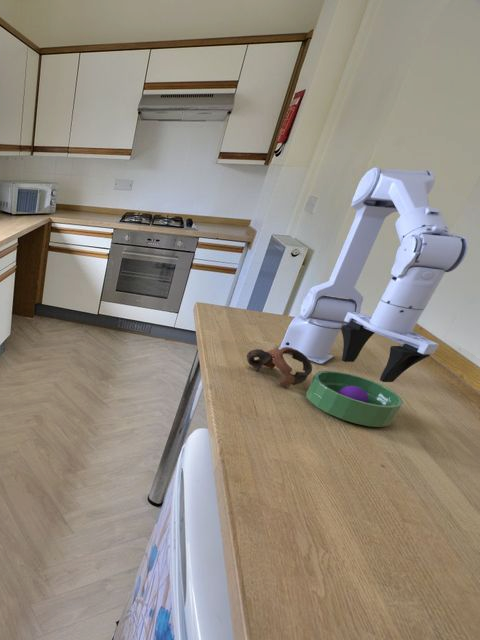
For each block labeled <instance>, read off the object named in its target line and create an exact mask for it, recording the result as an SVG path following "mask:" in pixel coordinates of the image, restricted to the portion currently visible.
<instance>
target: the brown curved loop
mask: <svg viewBox="0 0 480 640" xmlns="http://www.w3.org/2000/svg"><path fill="white" fill-rule="evenodd" d="M284 354H285V355H286V354H291V355H292V356H291V358H292V359H293V360H295V361H298V362H300V363H302V366H303V367H302V371H296V372H295V373H294V374H293V373H291V372H292V371H293V368H292V367H291V366H290V365H289V364H288V363H287V362H286V360H285V358H284ZM255 358H258V359H255ZM246 361H247V363H248V365H250V366H251V367H252V370H253V371H254V372H256V373H258V372H259V371H260V369H261V368H262V367H263V366H264V367H267V368H269V369H272V370H273V369H274V368H276V369H278V370H279V371H280V373H281V374H282V375H283V376H284V378H283V379H282V380H280V381H279V382H278V385H279V386H281V387H282V388H287V387H290V386H291V385H292V386H295V385H299V384H302V383H304V382H305V381H306V380H307V378H308V377H309V375H311V373H312V371H313V365H312V362H311V361H310V360H308V358H307V357H306V356H305V355H304V354H302V353H301V352H300V351H298V350H296V349H293V348H289V347H284V348H282V349H279V348H275V349H270V350H268V351H265V350H263V349H260V348H259V349H258V348H257V349H252V350H250V351H248V352H247V354H246Z"/></svg>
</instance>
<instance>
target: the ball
mask: <svg viewBox="0 0 480 640" xmlns="http://www.w3.org/2000/svg"><path fill="white" fill-rule="evenodd" d="M338 393H339V394H341V395H344V396H347V397H349V398H352V399H355V400H359V401H362V402H365V403H367V402H368V399H369V398H368V394H367V393H366V391H364V390H363V389H362V388H360V387H357V386H346V387H344V388H342V389H341V390H340V391H339V392H338Z"/></svg>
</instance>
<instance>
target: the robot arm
mask: <svg viewBox="0 0 480 640" xmlns="http://www.w3.org/2000/svg"><path fill="white" fill-rule="evenodd" d="M435 181H436V176H435V173H434V171H432V170H431V169H430V170H429V169H427V170H413V169H395V168H394V169H393V168H380V167H372V168H371V169H370V170H368V171H366V173H365V174H364V175H363V176H362V178H361V179H360V181H359V182H358V185H357V188H356V190H355V192H354V195H353V197H352V200H351V204H350V207H351V208H353V209H354V210H356V214H355V217H354V219H353V221H352V224H351V227H350V229H349V231H348V233H347V237H346V238H345V241H344V243H343V246H342V248H341V251H340V254H339V255H338V258H337V261H336V263H335V265H334V267H333V270H332V272H331V275H330V277H329V279H328V281H325V282H322V283H320V284H317V285H314V286H311V288H310V289H309V291H308V293H307V294H306V296H305V297H304V299H303V301H302V303H301V306H300V311H299V313H300V315H296V316H294V318H293V319H292V320H291V322H290V324H289V325H288V327H287V329H286V332H285V335H284V337H283V339H282V342H281V344H280V345H279V347H278V349H282V348H284V347H289V348H293V349H296V350H298V351H300V352H301V353H302V354H304V355H305V356H306V357H307V358H308V360H309V361H310V362H313V363H316V364H318V365H324V364H325V363H326V362H328V361H329V360H331V359H332V358H333V357H334V355H333V354H330V352H332V349H333V347H334V345H335V342H336V340H337V338H338V336H339V334H340V332H341V334H342V339H343V342H342V343H343V347H342V356H341V361H342V362H344V363H354V362H356V360H357V359H358V356H359V355H360V353H361V352H362V349H363V348H364V346H365V345H366V343H367V342H368V341H369V340H370V339H371V337H372V336H374V334H376V335H380V336H382V337H384V338H387V339H389V340H392V341H394V342H396V343H398V344H401V345H391V346H390V347H389V355H388V359H387V363H386V365H385V367H384V369H383V370H382V372H381V374H380V377H379V381H380V382H382V383H393V382H394V381H396V379H397V378H398V377H399V376H401V375H402V374H403V373H404V372H406V371H407V370H408V369H409V368H412V366H414V365H415V364H417V363H419V362H421V361H422V360H425V359H426V358H428V357H430V356H431V355H434V354H435V352H436V351H437V349H438V347H439V346H440V344H439V343H437V342H435V341H432V340H430V339H429V338H427V337H425V336H423V335H421V334H420V333H417V332H416V331H414V329H415V327H416V325H417V323H418V321H419V320H420V318H421V316H422V314H423V312H424V311H425V309H426V308H427V306H428V304H429V301H430V300H431V298H432V297H433V295H434V293H435V292H436V290H437V288H438V287H439V285H440V283H441V281H442V279H443V277H444V276H445V274H446V273H450V272H452V271H454V270H456V269H457V268H458V267H459V266H460V265H461V264H462V263H463V261H464V260H465V257H466V256H467V252H468V248H469V244H468V238H467V237H466V236H462V235H457V234H454V233H451V231H450V230H449V227H448V225H447V223H446V220H445V218H444V215H443V213H442V212H441V210H440V208H438V207H432V206H430V201H429V196H428V195H429V194H430V192H431V191H432V189H433V187H434V185H435ZM393 213H398V214H399V217H398V218H397V219H396V221H395V225H394V226H395V230H396V234H397V236H398V240H399V243H400V245H399V247H398V248H397V251H396V252H395V253H396V254H395V259H394V263H393V266H392V268H391V270H390V275H391V276H392V277H391V278H390V280H389V282H388V284H387V286H386V288H385V290H384V292H383V294H382V296H381V298H380V299H379V302H378V304H377V306H376V308H375V309H374V311H373V313H372V315H370V316H369V315H367V314H364V313H361V310H362V304H363V302H364V295H363V294H362V293H361V292H360V291H359V290H358V288H356V285H357V283H358V280H359V278H360V276H361V273H362V271H363V270H364V266H365V264H366V262H367V260H368V257H370V256H369V255H370V254H371V251H372V248H373V246H374V244H375V242H376V240H377V237H378V235H379V233H380V231H381V228H382V226H383V224H384V222H385V220H386V218H387V217H388V216H390V215H392V214H393Z"/></svg>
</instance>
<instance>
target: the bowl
mask: <svg viewBox="0 0 480 640" xmlns="http://www.w3.org/2000/svg"><path fill="white" fill-rule="evenodd" d="M346 386H357V387H360V388H362V389H363V390H364V391H366V393H367V394H368V398H369V399H368V402H367V403H365V402H362V401H359V400H355V399H352V398H349V397H347V396H344V395H341V394H339V393H338V392H339V391H340V390H341V389H342V388H344V387H346ZM305 396H306V398H307V399H308V401H309V403H311V404H312V405H314V406H315V407H316V408H318V409H319V410H321V411H323V412H324V413H327V414H328V415H330V416H333V417H335V418H337V419H340V420H342V421H346V422H349V423H352V424H356V425H361V426H366V427H375V428H384V427H387V426H391V424H392V422H394V419H395V418H396V417H397V414H399V412H400V410H401V408H402V407H403V405H404V400H403V397H401V396H400V394H398V393H397V392H395V391H394V390H392V389H390V388H389V387H387V386H385V385H383V384H381V383H379V382H376V381H374V380H371V379H368V378H366V377H362V376H359V375H355V374H351V373H347V372H343V371H336V370H335V371H334V370H321V371H318V372H316V373H315V374H314V375H313V377H312V379H311V381H310V383H309V386H308V387H307V389H306V391H305Z"/></svg>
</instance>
